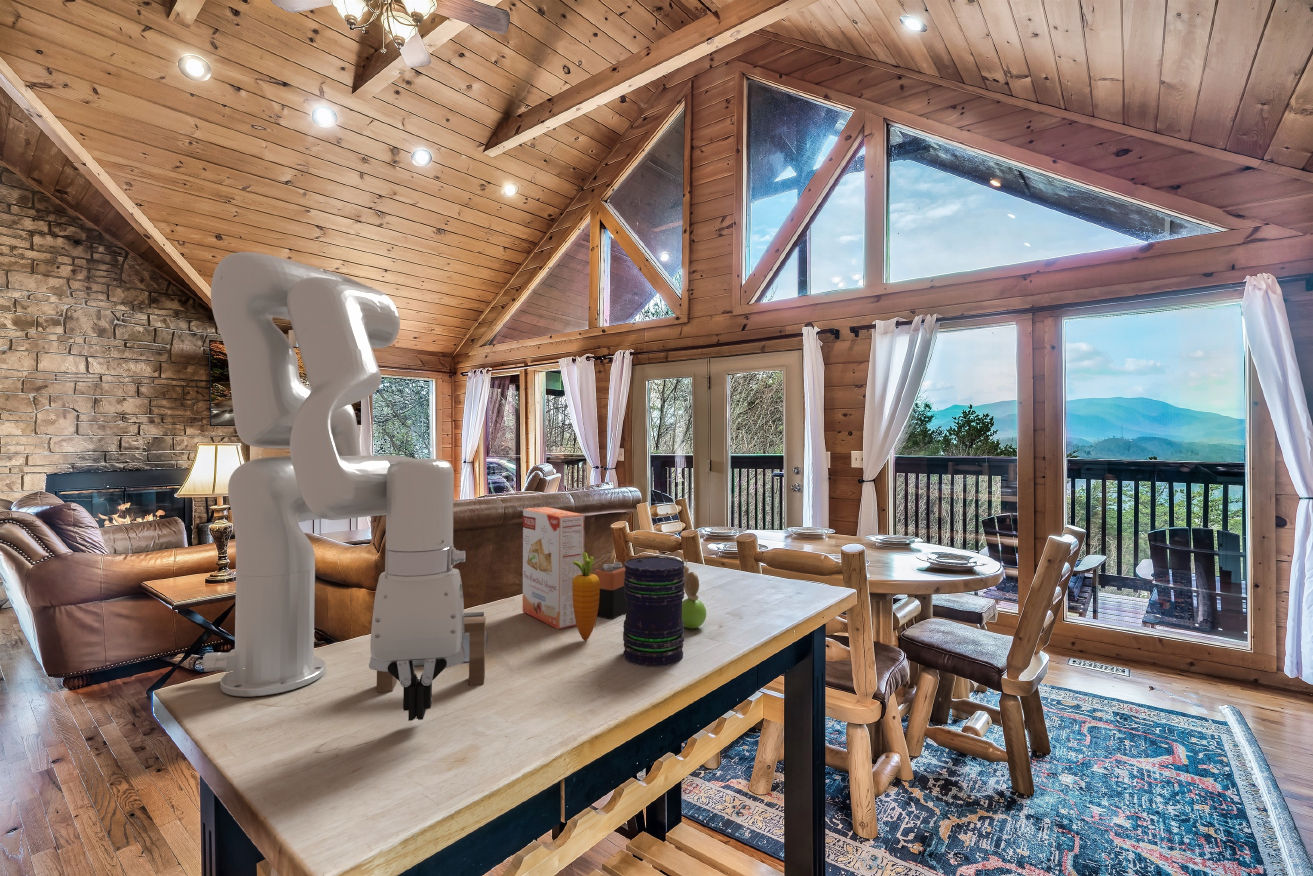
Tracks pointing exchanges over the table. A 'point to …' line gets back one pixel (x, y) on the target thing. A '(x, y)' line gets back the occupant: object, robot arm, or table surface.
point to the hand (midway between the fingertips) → (417, 714)
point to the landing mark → (466, 649)
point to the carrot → (585, 597)
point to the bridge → (476, 656)
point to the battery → (611, 590)
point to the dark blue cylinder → (653, 611)
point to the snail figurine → (692, 601)
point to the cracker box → (551, 563)
